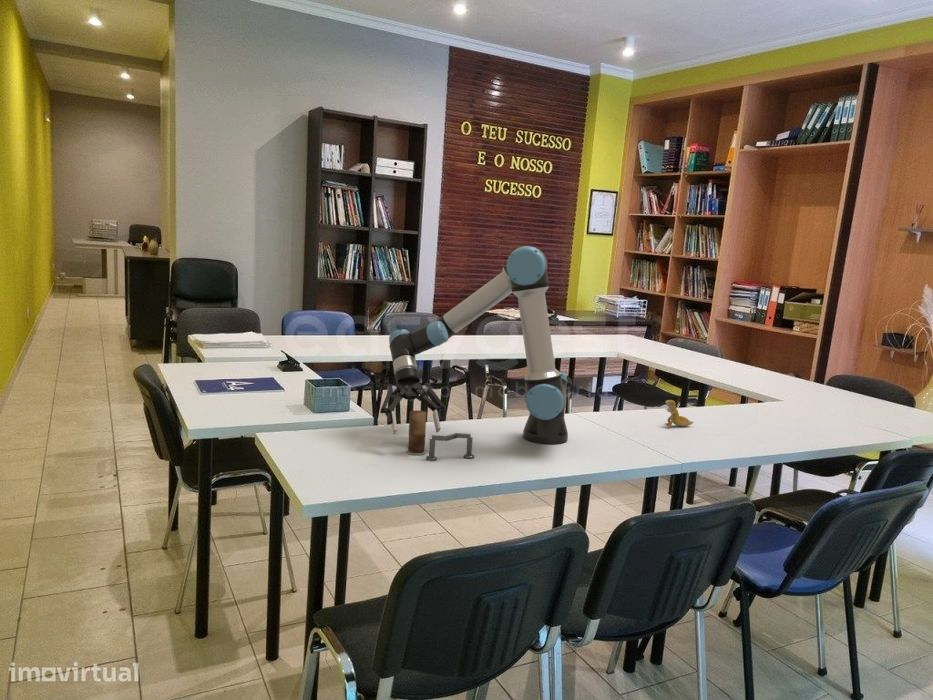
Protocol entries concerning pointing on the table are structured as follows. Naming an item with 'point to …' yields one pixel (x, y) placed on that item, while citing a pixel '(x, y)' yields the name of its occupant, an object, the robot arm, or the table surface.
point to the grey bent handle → (447, 438)
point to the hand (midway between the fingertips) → (417, 431)
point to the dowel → (417, 431)
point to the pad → (416, 453)
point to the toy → (676, 416)
